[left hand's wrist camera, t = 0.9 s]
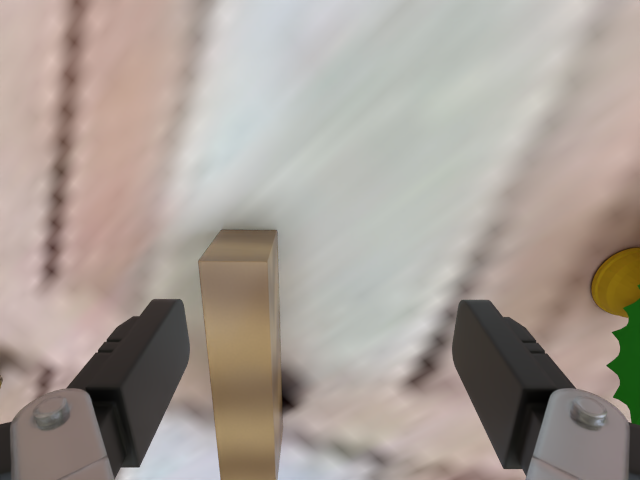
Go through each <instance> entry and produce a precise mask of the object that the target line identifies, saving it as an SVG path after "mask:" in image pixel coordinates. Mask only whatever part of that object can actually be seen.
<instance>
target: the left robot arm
mask: <svg viewBox="0 0 640 480" xmlns="http://www.w3.org/2000/svg"><path fill="white" fill-rule="evenodd" d="M189 354H190V344H189V337H188V330H187V323H186V317H185V310H184V305H183V302H182V300H180V299H153V300H152V301H151V302H150V303H149V305H148V306H147V307H146V309H145V310H144V311H143V312H142V314H141V315H140V316H133V317H132V318H130V319H129V320H127V321H126V322H124V323H123V324H121V325H119V326H118V327H117V328H116V329H115V330H114V331H113V333H112V334H111V335H110V336H109V337H108V339H107V342H104V343H103V345H102V346H101V347H100V348H99V350H98V353H95V354H94V356H93V357H92V358H91V359H90V360H89V362H88V363H87V364H86V365H85V366H84V368H83V369H82V370H81V371H80V372H79V374H78V375H77V376H76V377H75V379H74V380H73V381H72V382H71V383H70V385H69V386H68V387H67V388H66V389H61V390H57V391H53V392H50V393H48V394H45V395H43V396H41V397H39V398H37V399H35V400H34V401H32V402H30V403H29V404H28V405H26V406H25V407H24V408H23V409H22V410H20V411H19V413H18V414H17V415H16V416H15V418H14V419H13V421H12V422H9V423H4V424H0V480H114V479H115V477H116V475H117V473H118V472H119V470H120V468H121V467H140V465H141V463H142V461H143V458H144V456H145V454H146V452H147V450H148V448H149V446H150V443H151V441H152V439H153V437H154V435H155V433H156V431H157V429H158V426H159V424H160V422H161V420H162V418H163V416H164V414H165V411H166V409H167V407H168V405H169V403H170V401H171V399H172V397H173V394H174V392H175V390H176V388H177V386H178V384H179V382H180V379H181V377H182V375H183V373H184V371H185V369H186V367H187V364H188V360H189ZM452 355H453V361H454V365H455V367H456V370H457V372H458V374H459V376H460V378H461V380H462V382H463V384H464V386H465V389H466V391H467V393H468V395H469V397H470V399H471V401H472V403H473V405H474V407H475V410H476V412H477V414H478V416H479V418H480V420H481V422H482V424H483V426H484V429H485V431H486V433H487V435H488V437H489V439H490V441H491V443H492V445H493V448H494V450H495V452H496V454H497V456H498V458H499V460H500V462H501V464H502V467H503V469H523V471H524V473H525V475H526V479H525V480H640V425H637V424H633V423H629V422H628V421H627V419H626V418H625V416H624V415H623V414H622V413H621V411H620V410H618V409H617V408H616V407H615V406H614V405H612V404H611V403H610V402H608V401H606V400H605V399H603V398H601V397H599V396H597V395H595V394H592V393H590V392H587V391H583V390H579V389H576V388H575V387H574V385H573V384H572V383H571V382H570V381H569V379H568V378H567V377H566V376H565V375H564V373H563V372H562V371H561V370H560V369H559V367H558V366H557V365H556V364H555V363H554V361H553V360H552V359H551V358H550V357H549V355H548V354H545V351H544V350H543V348H542V347H541V346H540V345H539V344H538V343H536V340H535V339H534V338H533V336H532V335H531V334H530V333H529V332H528V330H527V329H526V328H525V327H523V326H522V325H520V324H519V323H517V322H516V321H514V320H513V319H511V318H510V317H503V316H502V315H501V314H500V313H499V311H498V310H497V309H496V307H495V306H494V305H493V304H492V302H491V301H489V300H461V301H460V303H459V306H458V311H457V318H456V324H455V331H454V338H453V344H452Z"/></svg>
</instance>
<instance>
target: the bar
mask: <svg viewBox="0 0 640 480" xmlns="http://www.w3.org/2000/svg"><path fill="white" fill-rule="evenodd" d="M198 264H199V274H200V284H201V293H202V303H203V313H204V322H205V332H206V342H207V351H208V361H209V371H210V380H211V390H212V400H213V410H214V419H215V429H216V439H217V448H218V458H219V468H220V477H221V480H277V479H278V469H279V460H280V451H281V441H282V432H283V420H282V384H281V348H280V312H279V277H278V241H277V230H221V231H220V232H219V234H218V235H217V236H216V238H215V239H214V240H213V242H212V243H211V244H210V246H209V247H208V249H207V250H206V251H205V253H204V254H203V255H202V257H201V258H200V259H199V261H198Z"/></svg>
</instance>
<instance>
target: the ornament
mask: <svg viewBox="0 0 640 480" xmlns="http://www.w3.org/2000/svg"><path fill="white" fill-rule="evenodd" d="M591 290H592V296H593V299H594V301H595V303H596V304H597V305H598V306H599V307H600V308H601V309H603V310H604V311H606V312H608V313H611V314H614V315H619V316H622V317H627V318H629V322H628V324H627V326H625V327H624V328H622V329H620V330H617V331H614V332H612V333H613V334H614V336H615V337H616V338H617V339H618V340H619V344H620V353H619V355H618V356H617V357H616V358H615V359H614V360H613V361H612V362H610V363H609V364H608V365H606V366H608V367H609V368H610V369H611V370H612V371H614V372H615V373H616V374H617V375H618V377H619V379H620V386H619V388H618V389H617V391H616V393H615V395H614V396H613V398H616V399H619V400H620V401H622V402H623V403H625V404H626V405H627V406H628V408H629V410H630V414H631V422H632V423H633V424H637V425H640V248H631V249H627V250H623V251H621V252H619V253H617V254H615V255H613V256H612V257H610V258H609V259H608V260H606V261H605V262H604V263H603V264H602V265H601V267H600V268H599V269H598V271H597V272H596V274H595V276H594V279H593V282H592V288H591Z"/></svg>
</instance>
